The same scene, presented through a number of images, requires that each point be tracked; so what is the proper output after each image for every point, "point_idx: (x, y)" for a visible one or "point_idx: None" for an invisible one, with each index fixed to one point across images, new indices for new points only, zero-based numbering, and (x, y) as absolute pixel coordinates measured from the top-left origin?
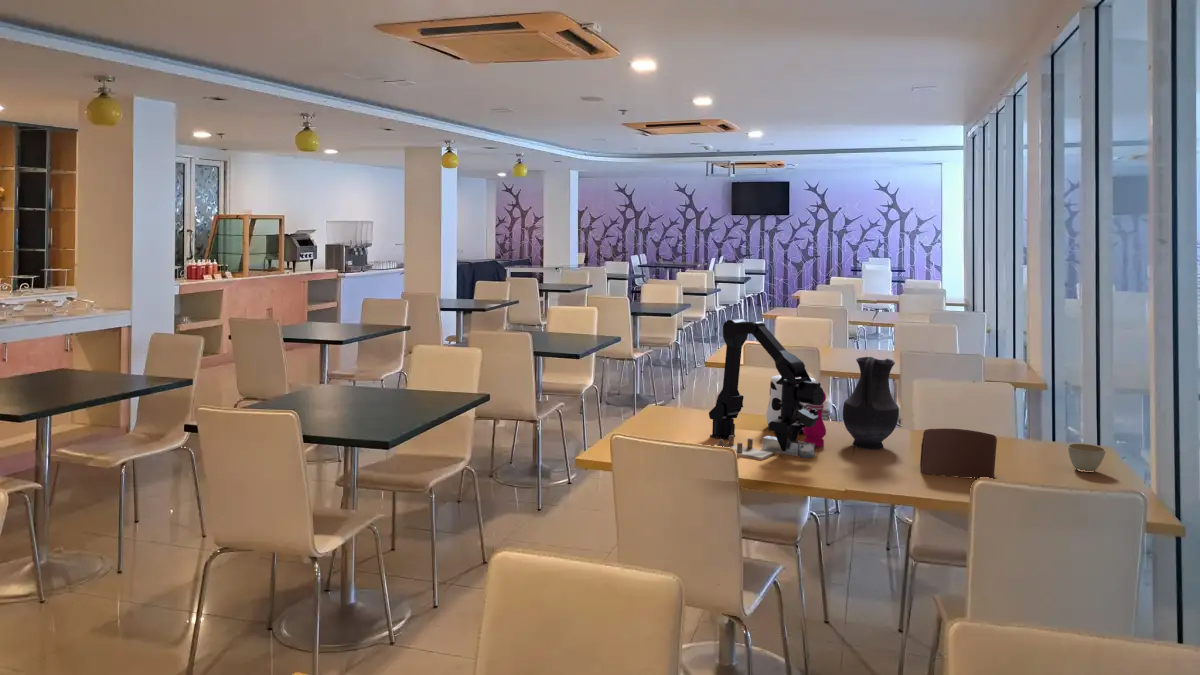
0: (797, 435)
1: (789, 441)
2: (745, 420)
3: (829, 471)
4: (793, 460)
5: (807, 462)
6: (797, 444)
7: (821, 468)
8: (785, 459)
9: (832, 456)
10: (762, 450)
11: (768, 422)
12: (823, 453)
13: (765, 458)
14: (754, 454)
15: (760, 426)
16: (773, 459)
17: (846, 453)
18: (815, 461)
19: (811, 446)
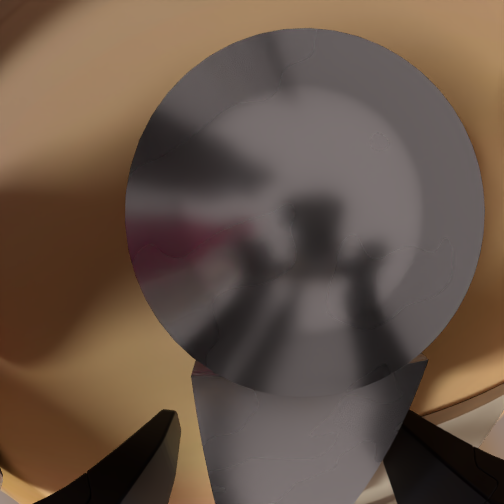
0: (93, 496)
1: (336, 481)
2: (19, 494)
3: (499, 5)
4: (484, 247)
5: (476, 125)
6: (415, 363)
7: (500, 33)
8: (479, 309)
9: (116, 15)
10: (377, 480)
11: (1, 484)
12: (54, 121)
13: (484, 393)
14: (469, 442)
15: (12, 479)
16: (490, 359)
17: (6, 35)
18: (412, 64)
19: (408, 79)
